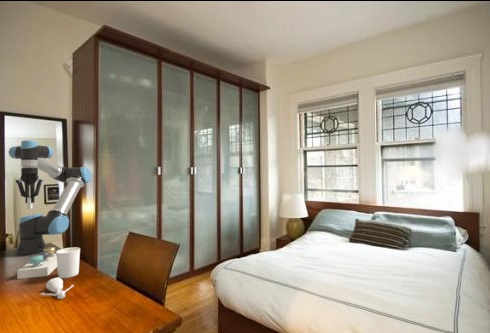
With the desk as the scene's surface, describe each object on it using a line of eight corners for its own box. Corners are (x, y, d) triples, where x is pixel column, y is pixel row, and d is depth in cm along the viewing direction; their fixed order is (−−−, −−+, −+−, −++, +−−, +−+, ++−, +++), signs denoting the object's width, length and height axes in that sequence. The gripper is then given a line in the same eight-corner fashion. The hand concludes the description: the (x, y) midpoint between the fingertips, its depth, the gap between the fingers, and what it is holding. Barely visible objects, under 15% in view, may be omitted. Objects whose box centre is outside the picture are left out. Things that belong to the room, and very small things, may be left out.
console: (40, 262, 152) (40, 255, 152) (65, 259, 155) (64, 252, 155) (17, 279, 128) (17, 270, 128) (47, 275, 131) (47, 267, 132)
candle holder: (85, 271, 136) (84, 247, 136) (70, 279, 127) (70, 253, 127) (66, 271, 137) (66, 247, 137) (51, 278, 128) (50, 253, 128)
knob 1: (32, 269, 136) (32, 255, 136) (45, 268, 137) (44, 254, 137) (27, 273, 131) (27, 259, 131) (40, 271, 132) (40, 257, 132)
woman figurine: (68, 272, 124) (79, 286, 111) (68, 282, 124) (79, 297, 111) (36, 280, 115) (43, 296, 103) (36, 290, 116) (43, 308, 103)
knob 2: (46, 259, 151) (45, 247, 151) (56, 258, 153) (56, 246, 153) (42, 262, 146) (41, 249, 146) (53, 261, 148) (53, 248, 148)
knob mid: (39, 264, 143) (39, 251, 144) (51, 263, 145) (51, 250, 145) (35, 268, 138) (35, 254, 139) (47, 266, 140) (47, 253, 140)
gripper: (12, 167, 151) (12, 210, 151) (40, 167, 155) (40, 208, 155) (19, 167, 158) (19, 208, 158) (45, 167, 162) (46, 207, 162)
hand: (30, 208), depth 156 cm, fingers closed
